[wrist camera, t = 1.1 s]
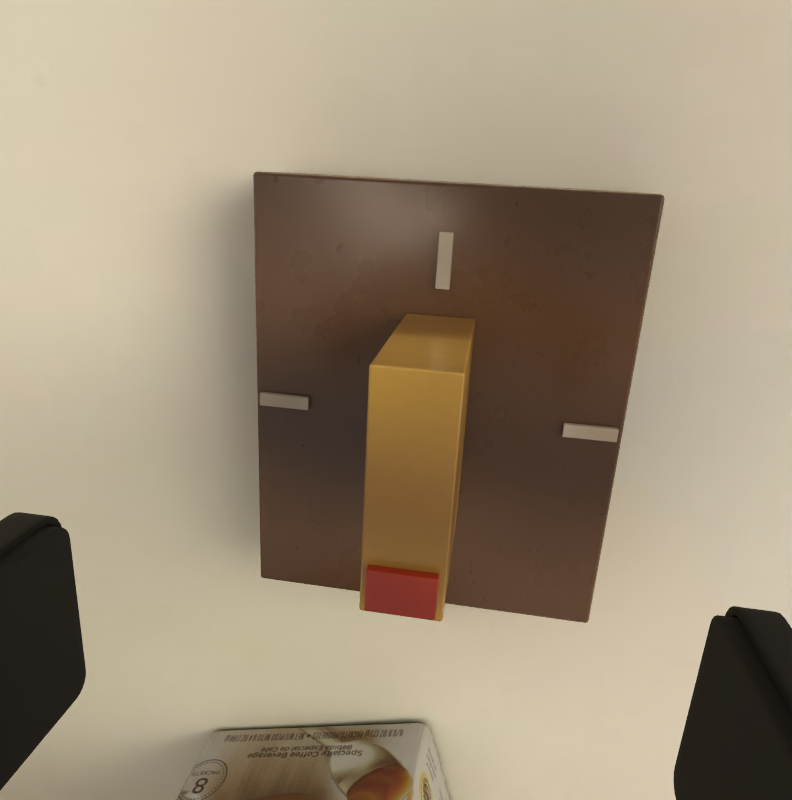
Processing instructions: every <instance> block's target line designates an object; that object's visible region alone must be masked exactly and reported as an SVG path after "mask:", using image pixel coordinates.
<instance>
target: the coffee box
mask: <svg viewBox="0 0 792 800" xmlns="http://www.w3.org/2000/svg"><path fill="white" fill-rule="evenodd" d="M176 800H450V798H449V794H448V790H447V787H446V783H445V779H444V775H443V771H442V768H441V764H440V761H439V757H438V754H437V750H436V747H435V743H434V740H433V736H432V733H431V730H430V728H429V727H428V726H427V725H425V724H423V723H405V724H378V725H353V726H329V727H305V728H277V729H252V730H230V731H217V732H213V733H212V734H211V736H210V738H209V739H208V741H207V743H206V745H205V747H204V749H203V751H202V753H201V754H200V756H199V758H198V760H197V762H196V764H195V766H194V768H193V770H192V772H191V774H190V775H189V777H188V779H187V781H186V783H185V784H184V786H183V788H182V790H181V792H180V794H179V796H178V798H177V799H176Z"/></svg>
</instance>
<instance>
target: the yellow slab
mask: <svg viewBox="0 0 792 800" xmlns="http://www.w3.org/2000/svg"><path fill="white" fill-rule="evenodd" d="M474 329H475V320H474V319H467V318H455V317H443V316H431V315H419V314H406V315H405V316H404V318H403V319H402V320H401V322H400V323H399V325H398V326H397V328H396V329H395V330H394V332H393V333H392V335H391V336H390V337H389V339H388V340H387V342H386V343H385V344H384V346H383V347H382V349H381V350H380V352H379V353H378V354H377V356H376V357H375V359H374V360H373V361H372V363H371V364H370V366H369V385H368V410H367V435H366V459H365V484H364V509H363V534H362V559H361V584H360V609H361V610H365V611H372V612H379V613H386V614H393V615H400V616H407V617H414V618H421V619H428V620H435V621H442V620H443V614H444V607H445V599H446V592H447V584H448V577H449V570H450V562H451V555H452V547H453V540H454V532H455V525H456V517H457V510H458V499H459V489H460V478H461V467H462V457H463V446H464V436H465V425H466V414H467V404H468V393H469V382H470V372H471V361H472V350H473V340H474Z"/></svg>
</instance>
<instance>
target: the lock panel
mask: <svg viewBox="0 0 792 800" xmlns="http://www.w3.org/2000/svg"><path fill="white" fill-rule="evenodd" d="M253 179H254V231H255V283H256V336H257V388H258V441H259V493H260V546H261V577H263V578H268V579H275V580H282V581H290V582H297V583H304V584H311V585H318V586H325V587H333V588H340V589H347V590H354V591H360V584H361V559H362V534H363V509H364V484H365V459H366V435H367V410H368V385H369V366H370V364H371V363H372V361H373V360H374V359H375V357H376V356H377V354H378V353H379V352H380V350H381V349H382V347H383V346H384V344H385V343H386V342H387V340H388V339H389V337H390V336H391V335H392V333H393V332H394V330H395V329H396V328H397V326H398V325H399V323H400V322H401V320H402V319H403V318H404V316H405V315H406V314H419V315H431V316H443V317H455V318H467V319H474V320H475V329H474V340H473V350H472V361H471V372H470V382H469V393H468V404H467V414H466V425H465V436H464V446H463V457H462V467H461V478H460V489H459V499H458V510H457V517H456V525H455V532H454V540H453V547H452V555H451V562H450V570H449V577H448V584H447V592H446V599H445V603H448V604H455V605H462V606H469V607H476V608H483V609H491V610H498V611H505V612H512V613H519V614H527V615H534V616H541V617H548V618H555V619H562V620H570V621H577V622H584V623H586V622H588V620H589V614H590V609H591V603H592V598H593V592H594V587H595V581H596V576H597V570H598V565H599V559H600V553H601V548H602V542H603V537H604V531H605V526H606V520H607V515H608V509H609V503H610V498H611V492H612V487H613V481H614V476H615V470H616V465H617V459H618V454H619V448H620V442H621V437H622V431H623V426H624V420H625V415H626V409H627V404H628V398H629V393H630V387H631V381H632V376H633V370H634V365H635V359H636V354H637V348H638V343H639V337H640V332H641V326H642V320H643V315H644V309H645V304H646V298H647V293H648V287H649V282H650V276H651V270H652V265H653V259H654V254H655V248H656V243H657V237H658V232H659V226H660V221H661V215H662V209H663V204H664V196H663V195H660V194H650V193H638V192H621V191H603V190H585V189H567V188H550V187H532V186H514V185H497V184H479V183H461V182H443V181H426V180H408V179H390V178H373V177H355V176H337V175H319V174H302V173H283V172H255V173H254V175H253Z"/></svg>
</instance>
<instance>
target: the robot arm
mask: <svg viewBox="0 0 792 800" xmlns="http://www.w3.org/2000/svg"><path fill="white" fill-rule="evenodd" d="M85 676H86V669H85V660H84V652H83V644H82V635H81V627H80V619H79V610H78V602H77V594H76V585H75V577H74V569H73V560H72V552H71V544H70V537H69V533H68V532H67V530H66V529H64V528H62V527H61V524H60V522H59V521H58V519H56V518H54V517H51V516H43V515H36V514H28V513H13V514H11V515H9V516H7V517H6V518H4V519H3V520H1V521H0V790H1V789H2V788H3V787H4V785H5V784H6V783H7V782H8V781H9V779H10V778H11V777H12V776H13V775H14V773H15V772H16V771H17V770H18V768H19V767H20V766H21V765H22V764H23V762H24V761H25V760H26V759H27V758H28V756H29V755H30V754H31V753H32V752H33V750H34V749H35V748H36V747H37V746H38V744H39V743H40V742H41V741H42V740H43V738H44V737H45V736H46V735H47V734H48V732H49V731H50V730H51V729H52V727H53V726H54V725H55V724H56V723H57V721H58V720H59V719H60V718H61V717H62V715H63V714H64V713H65V712H66V711H67V709H68V708H69V707H70V706H71V705H72V703H73V702H74V701H75V700H76V698H77V697H78V696H79V694H80V692H81V690H82V688H83V685H84V682H85ZM674 790H675V796H676V800H792V628H791V627H790V625H789V624H788V622H787V621H786V619H785V618H784V617H783V616H782V615H781V614H780V613H777V612H773V611H765V610H757V609H750V608H742V607H735V606H733V607H731V608H729V610H728V611H727V612H726V615H725V616H718V615H717V616H714V618H713V619H712V621H711V624H710V627H709V632H708V636H707V640H706V644H705V648H704V652H703V656H702V660H701V664H700V668H699V672H698V676H697V680H696V684H695V688H694V692H693V696H692V700H691V704H690V708H689V712H688V716H687V720H686V724H685V728H684V732H683V736H682V740H681V744H680V748H679V752H678V756H677V760H676V764H675V770H674Z"/></svg>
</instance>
